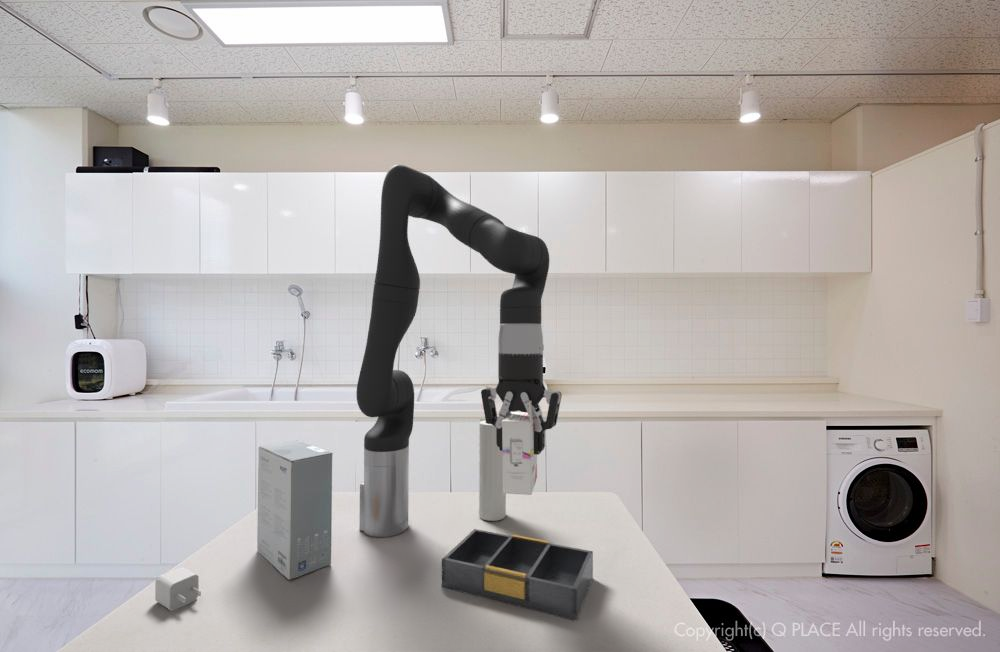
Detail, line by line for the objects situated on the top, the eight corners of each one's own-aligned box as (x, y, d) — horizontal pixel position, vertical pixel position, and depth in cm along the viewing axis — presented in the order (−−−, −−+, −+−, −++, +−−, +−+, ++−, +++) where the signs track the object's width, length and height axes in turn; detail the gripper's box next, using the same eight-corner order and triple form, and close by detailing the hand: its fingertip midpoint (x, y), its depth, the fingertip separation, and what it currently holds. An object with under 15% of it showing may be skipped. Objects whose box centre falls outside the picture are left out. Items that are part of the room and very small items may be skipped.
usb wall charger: (184, 590, 72) (184, 565, 72) (207, 604, 69) (207, 577, 69) (155, 603, 69) (155, 577, 69) (177, 618, 65) (178, 590, 65)
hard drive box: (333, 565, 80) (334, 452, 80) (288, 582, 75) (290, 461, 75) (296, 537, 91) (297, 438, 91) (255, 551, 85) (256, 445, 85)
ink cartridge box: (509, 477, 80) (510, 394, 81) (537, 478, 79) (537, 395, 80) (501, 493, 72) (501, 401, 72) (531, 496, 71) (532, 402, 71)
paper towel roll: (505, 522, 99) (506, 424, 99) (478, 521, 99) (478, 424, 99) (505, 509, 106) (506, 417, 106) (479, 509, 106) (480, 417, 106)
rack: (440, 588, 73) (440, 558, 73) (474, 553, 85) (474, 527, 85) (575, 622, 64) (575, 588, 65) (592, 578, 76) (592, 549, 76)
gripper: (472, 351, 75) (472, 452, 75) (556, 352, 70) (556, 462, 70) (490, 349, 82) (489, 442, 82) (567, 350, 77) (567, 450, 76)
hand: (520, 451), depth 76 cm, fingers closed on ink cartridge box, 5 cm apart
